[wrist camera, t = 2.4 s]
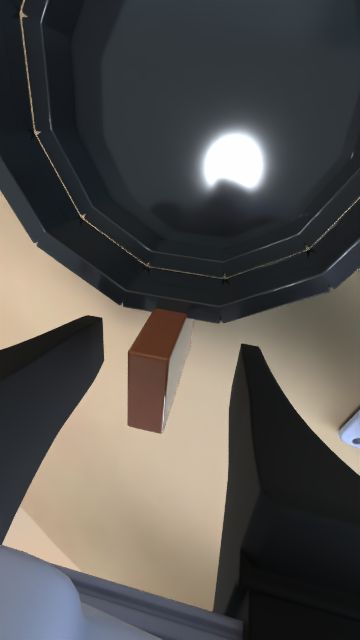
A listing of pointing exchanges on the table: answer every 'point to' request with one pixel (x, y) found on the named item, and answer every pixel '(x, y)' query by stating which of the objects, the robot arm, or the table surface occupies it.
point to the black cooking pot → (185, 158)
